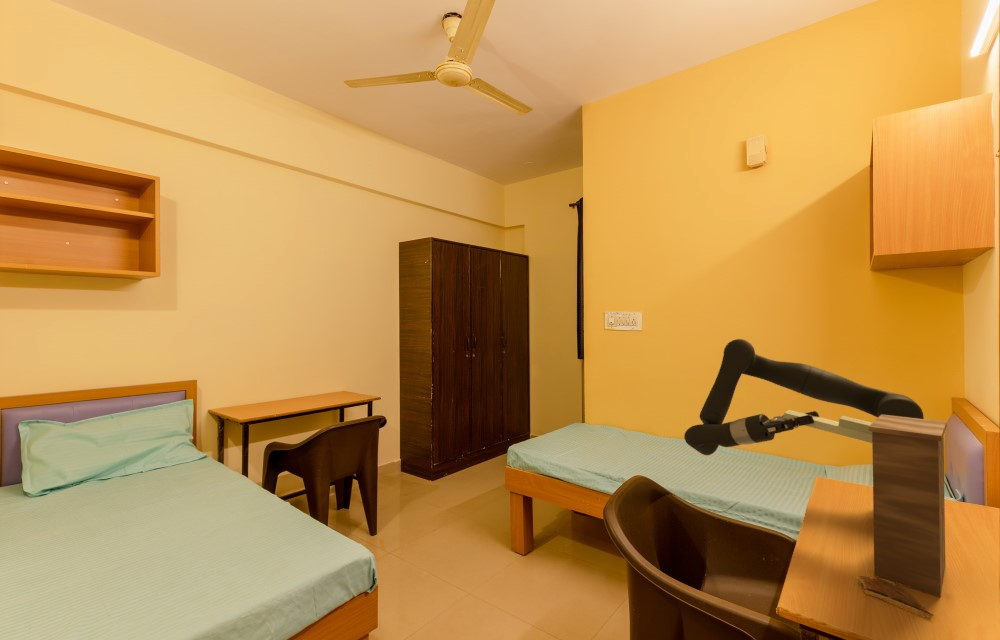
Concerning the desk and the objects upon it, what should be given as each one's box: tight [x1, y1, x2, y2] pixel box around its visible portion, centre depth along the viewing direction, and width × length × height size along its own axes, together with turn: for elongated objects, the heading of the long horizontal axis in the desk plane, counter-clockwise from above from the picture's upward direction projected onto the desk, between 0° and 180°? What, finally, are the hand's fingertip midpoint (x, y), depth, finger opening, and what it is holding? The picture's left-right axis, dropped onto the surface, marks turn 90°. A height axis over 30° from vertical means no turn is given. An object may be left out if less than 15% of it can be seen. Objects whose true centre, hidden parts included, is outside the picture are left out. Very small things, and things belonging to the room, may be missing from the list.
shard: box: [857, 575, 934, 619], centre depth 86 cm, size 11×8×2 cm
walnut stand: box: [869, 414, 948, 598], centre depth 95 cm, size 17×11×32 cm, turn 132°
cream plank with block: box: [783, 409, 873, 444], centre depth 113 cm, size 4×20×4 cm, turn 40°
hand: (815, 416), depth 116 cm, fingers closed on cream plank with block, 4 cm apart
